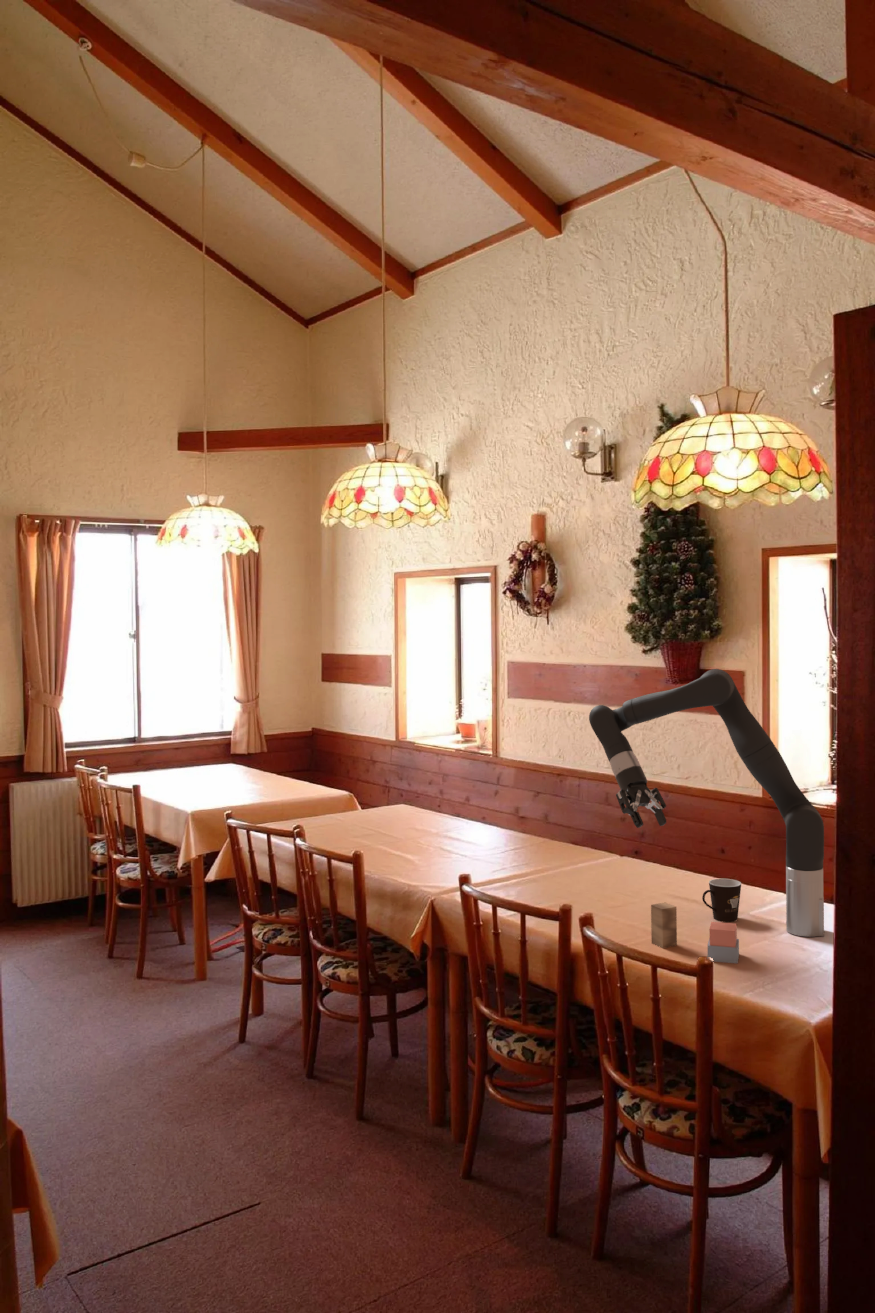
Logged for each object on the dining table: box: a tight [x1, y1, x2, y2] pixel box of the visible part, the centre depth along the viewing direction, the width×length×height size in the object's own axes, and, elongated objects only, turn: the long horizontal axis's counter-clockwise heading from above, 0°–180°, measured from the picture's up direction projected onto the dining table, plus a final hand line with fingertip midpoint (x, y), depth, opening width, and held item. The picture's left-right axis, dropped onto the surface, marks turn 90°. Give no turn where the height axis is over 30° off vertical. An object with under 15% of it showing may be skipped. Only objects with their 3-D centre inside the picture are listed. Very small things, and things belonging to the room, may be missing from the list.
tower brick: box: [708, 921, 738, 947], centre depth 248 cm, size 6×6×4 cm
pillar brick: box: [650, 902, 678, 949], centre depth 259 cm, size 4×4×10 cm
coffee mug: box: [702, 878, 742, 923], centre depth 279 cm, size 12×9×10 cm
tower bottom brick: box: [706, 936, 740, 964], centre depth 248 cm, size 7×7×4 cm
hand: (652, 825), depth 266 cm, fingers open, 8 cm apart
